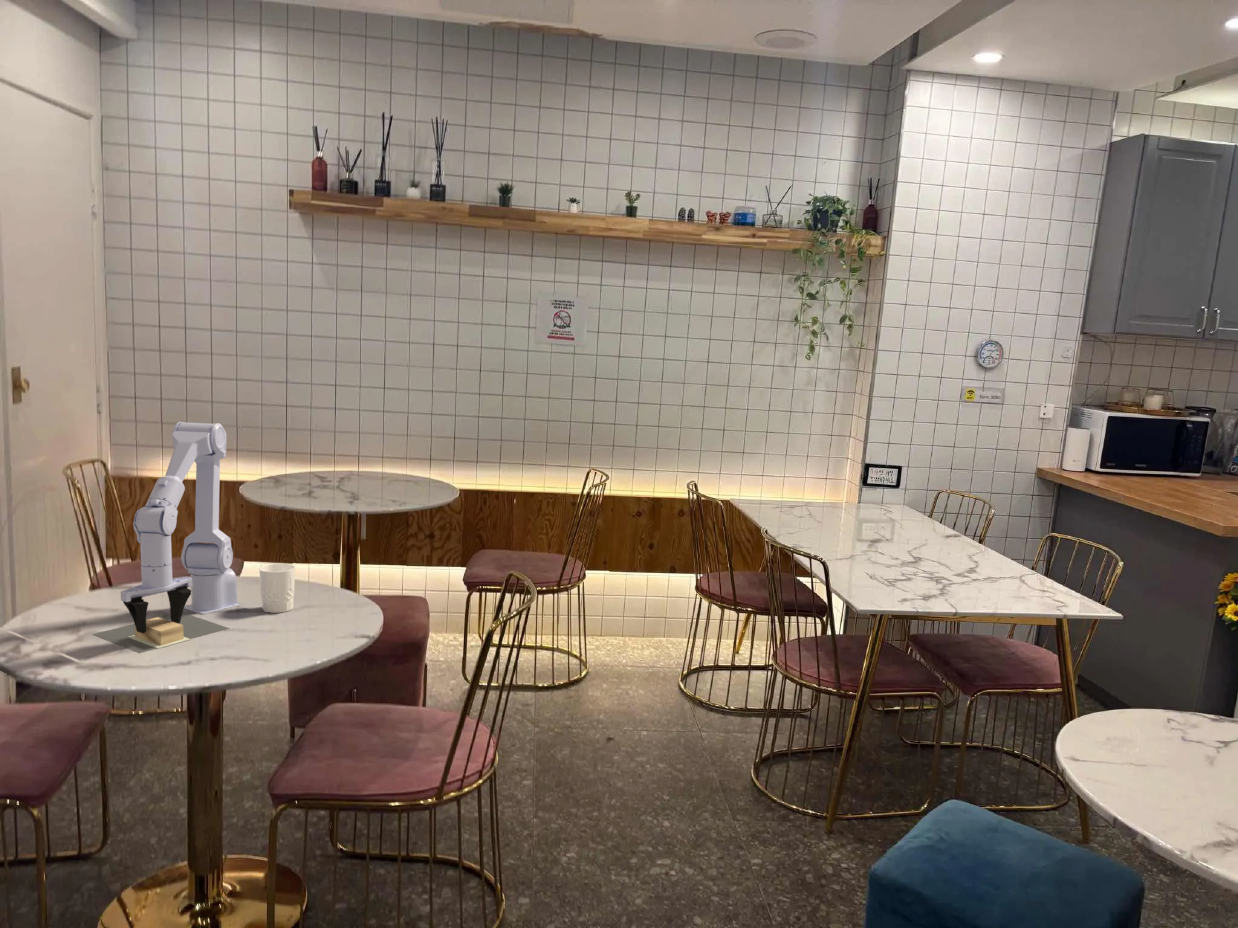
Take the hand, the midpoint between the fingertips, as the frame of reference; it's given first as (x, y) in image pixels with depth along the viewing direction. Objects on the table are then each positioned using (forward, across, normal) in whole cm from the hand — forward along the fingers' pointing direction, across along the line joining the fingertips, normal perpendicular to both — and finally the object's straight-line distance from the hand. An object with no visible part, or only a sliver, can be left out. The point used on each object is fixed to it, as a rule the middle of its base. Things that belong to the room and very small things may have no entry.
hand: (158, 627), depth 190 cm
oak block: (+2, 0, 0) cm, 2 cm away
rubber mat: (+3, -3, -4) cm, 6 cm away
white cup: (+3, -29, +1) cm, 29 cm away
